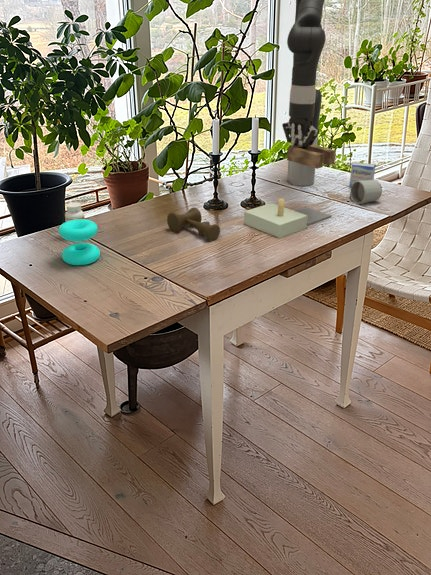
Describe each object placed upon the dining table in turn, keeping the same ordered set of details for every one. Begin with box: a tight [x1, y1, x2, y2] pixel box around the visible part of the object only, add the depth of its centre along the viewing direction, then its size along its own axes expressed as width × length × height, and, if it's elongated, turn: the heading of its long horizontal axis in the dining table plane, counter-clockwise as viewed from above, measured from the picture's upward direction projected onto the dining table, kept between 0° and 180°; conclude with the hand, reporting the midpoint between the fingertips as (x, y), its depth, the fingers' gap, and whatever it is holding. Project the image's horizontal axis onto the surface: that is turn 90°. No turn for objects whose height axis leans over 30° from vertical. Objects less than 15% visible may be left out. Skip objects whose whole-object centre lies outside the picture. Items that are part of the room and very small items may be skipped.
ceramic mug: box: [349, 179, 383, 205], centre depth 199 cm, size 11×8×8 cm
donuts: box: [58, 219, 101, 266], centre depth 155 cm, size 10×10×10 cm
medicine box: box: [348, 161, 376, 189], centre depth 211 cm, size 8×4×9 cm, turn 68°
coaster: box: [292, 206, 332, 226], centre depth 186 cm, size 11×11×1 cm
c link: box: [286, 145, 337, 170], centre depth 177 cm, size 12×8×4 cm, turn 41°
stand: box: [243, 197, 308, 239], centre depth 177 cm, size 15×12×9 cm
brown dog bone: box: [166, 207, 221, 242], centre depth 174 cm, size 6×10×20 cm
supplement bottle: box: [64, 202, 85, 222], centre depth 169 cm, size 5×5×10 cm
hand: (298, 157), depth 181 cm, fingers closed on c link, 2 cm apart
